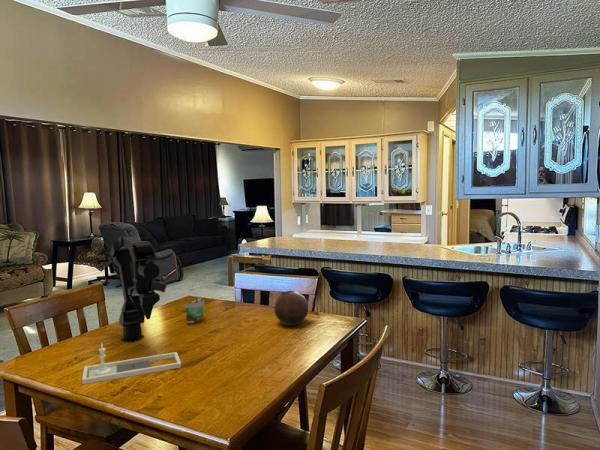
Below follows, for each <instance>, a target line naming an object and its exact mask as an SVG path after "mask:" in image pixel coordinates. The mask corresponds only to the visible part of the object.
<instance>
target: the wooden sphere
mask: <svg viewBox="0 0 600 450" xmlns="http://www.w3.org/2000/svg"><path fill="white" fill-rule="evenodd" d="M273 307H274V314H275V317H276V318H277V320H279V321H280V323H282V324H284V325H287V326H295V325H299V324H300V323H302V322H303V321H304V320H305V319H306V317H307V315H308V313H309V304H308V301H307V299H306V298H305V296H304V295H303V294H302V293H301V292H298V291H296V290H288V291H284V292H282V293H281V294H280V295H278V297H277V298H276V301H275V302H274V306H273Z"/></svg>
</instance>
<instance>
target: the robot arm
mask: <svg viewBox="0 0 600 450" xmlns="http://www.w3.org/2000/svg"><path fill="white" fill-rule="evenodd" d="M110 257H111V258H112V260H113V263H114V264H115V266H117V268H118V270H119V272H118V273H119V277H120V283H121V287H122V288H121V289H122V295H123V300H124V301H123V304H122V307H121V309H120V310H121V312H120V315H119V318H118V322H119V325H120V326H121V327H122V329H123V330H122V331H123V337H121V338H120V340H121V341H127V342H135V341H137V340H139V339H142V338H144V335H143V334H142V327H141V324H145V323H144V322H145V319H146V320H150V319H151V316H152V312H153V308H154V305H156V304H157V303H159V301H160V300H161V297H160V294H159V293H158V292H161V293H165V292H166V288H167V285H168V284H167V283H164V282H162V281H161V280H160V279H159V278H158V276H159V275H160V268H159V266H158V265H157V264H156V263H155V262H154V261H156V260H157V253H156V250H155V248H154V246H153V244H152V243H151V241H143V240H142V241H140V240H138V239H137V238H134V236H133V235H121V236H119V237H118V240H116V241H115V242H114V243H113V244H112V246H111V248H110ZM132 262H133V273H132V267H131V263H132ZM133 275H134V276H133ZM155 291H156V292H155ZM157 291H158V292H157Z"/></svg>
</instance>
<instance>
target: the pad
mask: <svg viewBox="0 0 600 450" xmlns="http://www.w3.org/2000/svg"><path fill="white" fill-rule="evenodd" d="M107 368H111V373H109V374H113V373H117V372H116V368H117V367H116V366H113V367H107ZM96 370H98V369H95V370H90V371H88V378H89V377H95V376H97V375H95V371H96Z"/></svg>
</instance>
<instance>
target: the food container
mask: <svg viewBox="0 0 600 450" xmlns="http://www.w3.org/2000/svg"><path fill="white" fill-rule="evenodd" d="M184 304H185V305H184V308H185V315H186V317H185V318H186V324H187V325H190V326H191V325H197V324H201V323H202V322H203V320H204V319H203V318H204V305H205V304H206V302H205V300H204V298H203V297H200V296H199V297H198V296H196V298H195V299H194V300H191V301H190V302H189V303H188V302H187V303H184Z"/></svg>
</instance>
